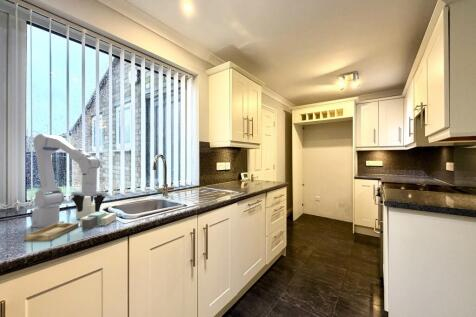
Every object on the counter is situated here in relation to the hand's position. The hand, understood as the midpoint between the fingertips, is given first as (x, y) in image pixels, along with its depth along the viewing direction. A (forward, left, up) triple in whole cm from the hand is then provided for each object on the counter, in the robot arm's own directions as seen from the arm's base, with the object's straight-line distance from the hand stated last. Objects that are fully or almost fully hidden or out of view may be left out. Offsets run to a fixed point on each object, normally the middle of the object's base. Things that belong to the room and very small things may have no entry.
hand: (88, 211), depth 97 cm
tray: (-11, -6, -8) cm, 15 cm away
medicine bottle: (-13, +19, -8) cm, 24 cm away
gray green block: (0, +4, -8) cm, 9 cm away
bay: (0, +9, -8) cm, 12 cm away
